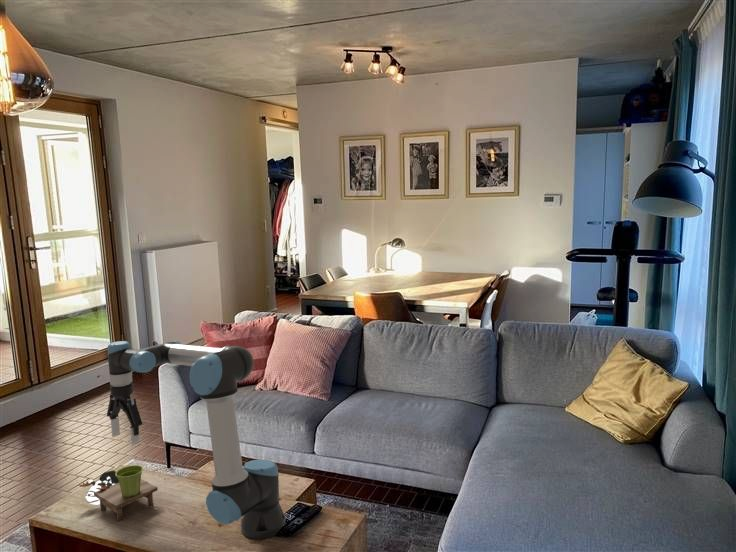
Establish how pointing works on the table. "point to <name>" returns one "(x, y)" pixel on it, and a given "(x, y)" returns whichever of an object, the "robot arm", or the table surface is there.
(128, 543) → the table surface
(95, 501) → the figurine
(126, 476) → the plant pot
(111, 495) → the footstool
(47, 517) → the table surface
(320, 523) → the table surface
